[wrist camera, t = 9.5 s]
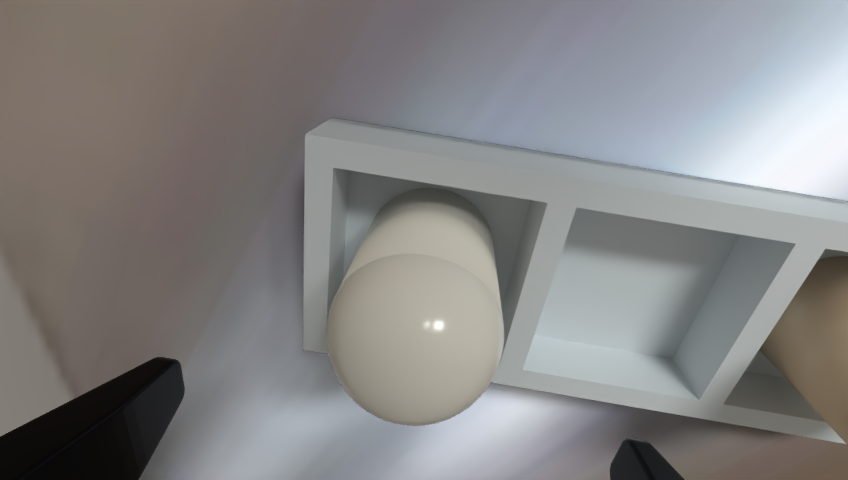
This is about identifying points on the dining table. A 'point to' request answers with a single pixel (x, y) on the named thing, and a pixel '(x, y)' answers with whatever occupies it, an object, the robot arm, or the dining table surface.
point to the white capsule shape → (419, 311)
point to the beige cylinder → (817, 342)
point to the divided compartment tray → (595, 267)
